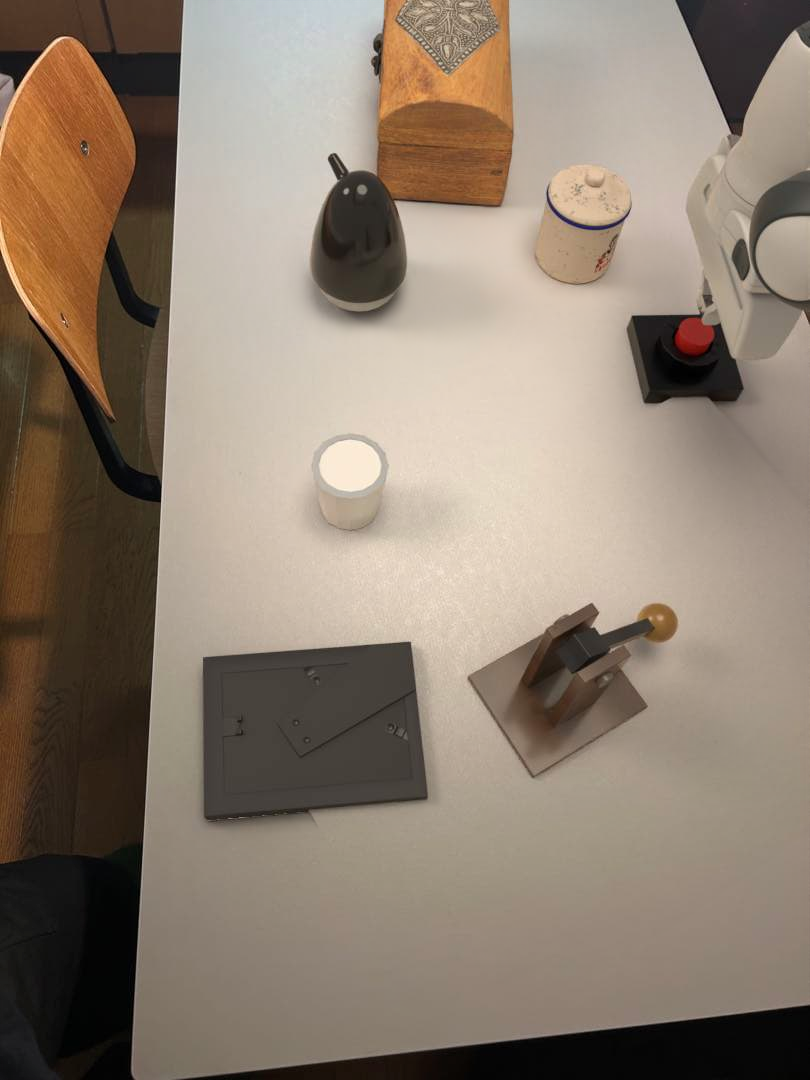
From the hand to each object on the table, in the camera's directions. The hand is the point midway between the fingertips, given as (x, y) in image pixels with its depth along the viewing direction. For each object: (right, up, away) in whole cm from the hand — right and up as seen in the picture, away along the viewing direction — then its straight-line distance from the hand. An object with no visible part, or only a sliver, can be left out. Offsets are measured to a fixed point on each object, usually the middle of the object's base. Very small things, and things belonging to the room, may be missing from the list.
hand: (706, 314), depth 92 cm
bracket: (-17, -36, -11) cm, 41 cm away
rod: (-13, -31, -16) cm, 37 cm away
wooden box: (-26, +30, +24) cm, 46 cm away
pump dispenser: (-35, +5, +10) cm, 37 cm away
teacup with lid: (-11, +11, +15) cm, 21 cm away
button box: (0, -4, +8) cm, 8 cm away
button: (0, -2, +4) cm, 5 cm away
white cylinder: (-35, -19, -3) cm, 40 cm away
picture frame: (-38, -39, -13) cm, 55 cm away
